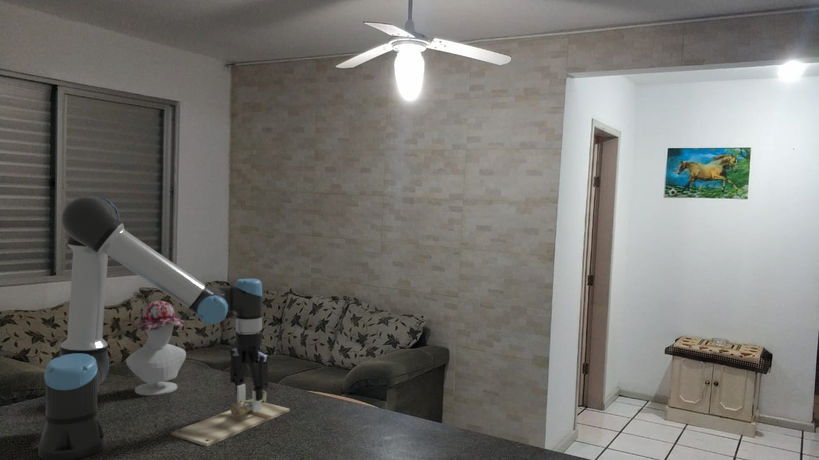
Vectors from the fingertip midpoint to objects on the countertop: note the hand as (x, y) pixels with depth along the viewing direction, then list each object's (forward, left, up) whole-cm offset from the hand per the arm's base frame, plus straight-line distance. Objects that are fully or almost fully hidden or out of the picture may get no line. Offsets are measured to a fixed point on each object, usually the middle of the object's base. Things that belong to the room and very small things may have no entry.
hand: (248, 408), depth 188 cm
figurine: (0, 0, -1) cm, 1 cm away
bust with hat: (+1, +42, -3) cm, 42 cm away
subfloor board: (-6, 0, -2) cm, 6 cm away
